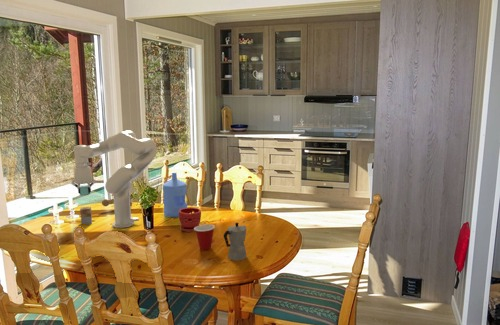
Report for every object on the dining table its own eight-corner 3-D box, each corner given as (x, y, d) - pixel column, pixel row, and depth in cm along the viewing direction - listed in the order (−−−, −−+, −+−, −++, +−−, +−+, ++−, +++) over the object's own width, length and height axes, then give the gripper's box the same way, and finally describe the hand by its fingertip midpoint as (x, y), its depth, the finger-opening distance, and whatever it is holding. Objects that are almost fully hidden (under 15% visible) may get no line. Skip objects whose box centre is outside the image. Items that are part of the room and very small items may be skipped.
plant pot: (197, 233, 240) (196, 214, 237) (176, 232, 242) (175, 212, 240) (204, 226, 252) (203, 207, 250) (184, 225, 255) (183, 206, 253)
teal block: (89, 192, 261) (88, 185, 260) (88, 195, 255) (87, 187, 254) (81, 193, 259) (80, 185, 258) (80, 195, 254) (79, 187, 253)
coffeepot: (239, 250, 214) (239, 217, 211) (253, 255, 208) (252, 221, 205) (218, 259, 203) (217, 225, 200) (231, 265, 197) (230, 229, 194)
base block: (92, 221, 263) (91, 214, 262) (91, 223, 259) (91, 216, 258) (81, 222, 261) (81, 215, 260) (81, 225, 257) (80, 217, 256)
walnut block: (91, 214, 262) (90, 206, 261) (91, 216, 258) (90, 208, 257) (81, 215, 260) (80, 207, 259) (80, 217, 256) (80, 209, 255)
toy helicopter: (133, 206, 294) (132, 188, 292) (105, 213, 281) (103, 193, 278) (128, 204, 300) (127, 186, 298) (100, 210, 287) (99, 191, 284)
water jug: (159, 216, 272) (157, 175, 266) (170, 209, 286) (169, 170, 281) (181, 218, 267) (179, 176, 262) (191, 211, 282) (190, 171, 277)
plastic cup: (205, 243, 225) (204, 222, 223) (219, 247, 219) (219, 226, 216) (190, 249, 217) (189, 227, 215) (204, 254, 210) (204, 231, 208)
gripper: (97, 163, 260) (99, 191, 263) (68, 165, 255) (71, 193, 258) (96, 165, 253) (98, 194, 256) (66, 167, 248) (69, 196, 251)
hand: (84, 193), depth 257 cm, fingers closed on teal block, 4 cm apart
